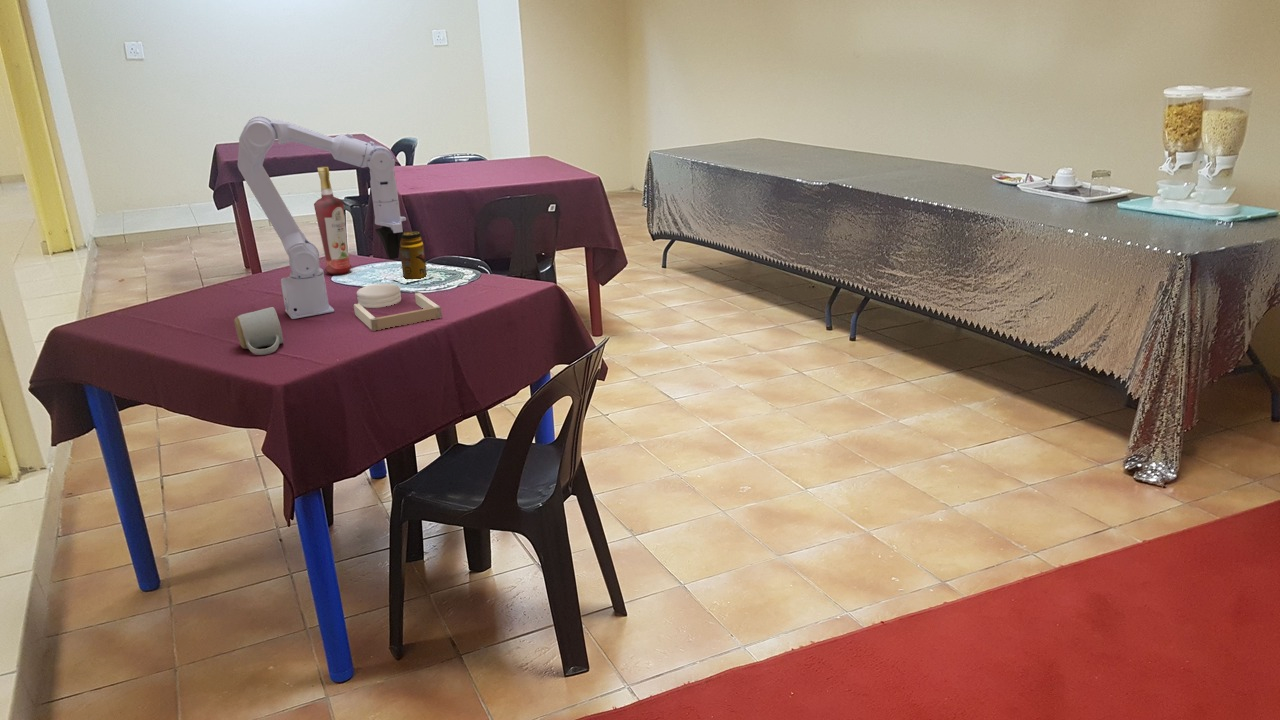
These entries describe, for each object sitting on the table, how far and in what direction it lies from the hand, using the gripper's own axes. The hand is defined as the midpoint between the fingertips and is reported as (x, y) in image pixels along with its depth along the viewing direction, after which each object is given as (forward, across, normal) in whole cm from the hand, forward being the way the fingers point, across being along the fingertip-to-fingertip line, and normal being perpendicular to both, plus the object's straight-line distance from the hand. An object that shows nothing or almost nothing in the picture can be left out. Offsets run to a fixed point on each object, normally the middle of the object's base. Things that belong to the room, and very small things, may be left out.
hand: (393, 258), depth 210 cm
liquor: (+11, +37, +5) cm, 39 cm away
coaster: (+11, +2, +4) cm, 12 cm away
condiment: (+11, +18, -9) cm, 23 cm away
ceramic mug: (+11, -16, +33) cm, 38 cm away
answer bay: (+10, -12, +4) cm, 16 cm away
